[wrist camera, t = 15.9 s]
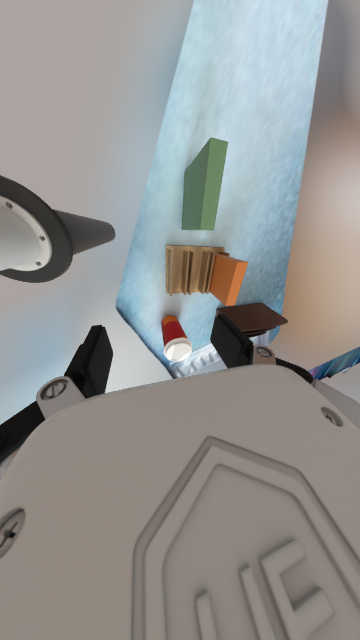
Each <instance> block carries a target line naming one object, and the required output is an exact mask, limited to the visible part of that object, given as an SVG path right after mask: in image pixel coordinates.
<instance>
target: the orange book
mask: <svg viewBox="0 0 360 640" xmlns="http://www.w3.org/2000/svg"><path fill="white" fill-rule="evenodd" d="M247 265H248V262H245V261H242V260H239V259H235V258H232V257H229V256H225V255H222V254H219V253H215V259H214V264H213V270H212V275H211V281H210V287H209V292H211V293H212V294H213V295H214V296H215V297H216V298H217V299H218V300H220V301H221V302H222V303H223V304H224V305H225V306H232V305H235V303H236V300H237V297H238V293H239V290H240V287H241V284H242V281H243V277H244V274H245V271H246V268H247Z"/></svg>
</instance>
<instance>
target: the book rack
mask: <svg viewBox="0 0 360 640" xmlns="http://www.w3.org/2000/svg"><path fill="white" fill-rule="evenodd" d="M215 253H219V254H222V255H225V256H229V255H230V254H229V253H226V252H224V247H202V246H177V245H166V293H170V295H171V296H172V293H184V295H186V293H188V294H189V295H191V292H201V293H202V294H204V292H205V293H206V294H208V292H209V287H210V281H211V275H212V270H213V264H214V259H215Z"/></svg>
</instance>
